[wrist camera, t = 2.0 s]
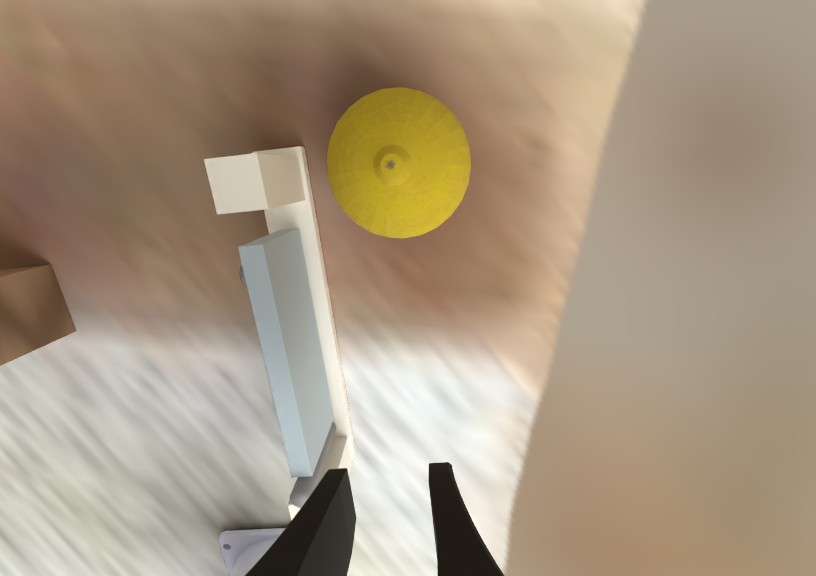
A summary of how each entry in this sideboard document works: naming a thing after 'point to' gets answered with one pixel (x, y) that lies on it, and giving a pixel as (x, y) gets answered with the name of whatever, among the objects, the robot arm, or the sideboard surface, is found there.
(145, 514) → the sideboard surface
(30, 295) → the brown block
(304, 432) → the door
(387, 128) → the lemon
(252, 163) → the white bracket
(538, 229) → the sideboard surface
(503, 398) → the sideboard surface
